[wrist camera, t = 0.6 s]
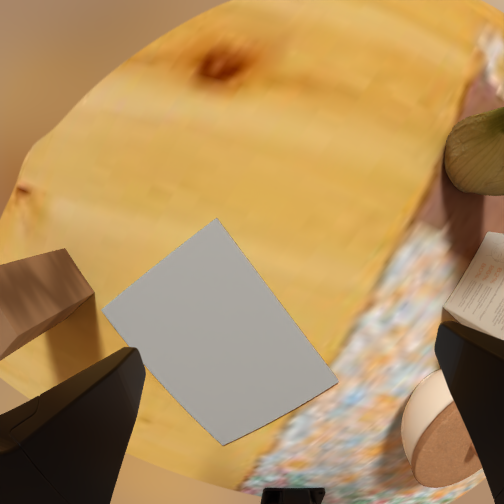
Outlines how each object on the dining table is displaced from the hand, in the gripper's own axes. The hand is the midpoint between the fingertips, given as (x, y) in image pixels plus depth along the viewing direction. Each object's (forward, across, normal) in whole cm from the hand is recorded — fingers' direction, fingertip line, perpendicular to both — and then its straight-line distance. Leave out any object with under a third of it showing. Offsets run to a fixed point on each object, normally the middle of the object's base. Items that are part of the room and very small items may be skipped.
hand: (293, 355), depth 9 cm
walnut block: (+14, +18, +3) cm, 23 cm away
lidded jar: (+12, -14, +16) cm, 25 cm away
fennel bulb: (+16, -16, -4) cm, 23 cm away
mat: (+13, +5, +9) cm, 17 cm away
